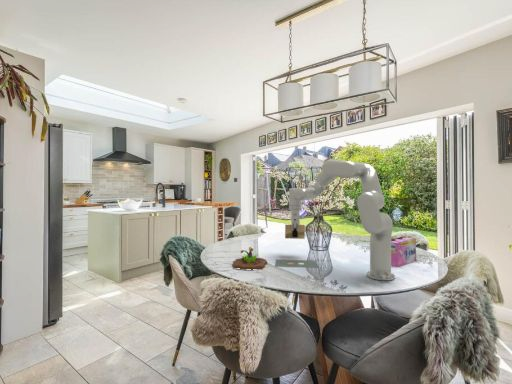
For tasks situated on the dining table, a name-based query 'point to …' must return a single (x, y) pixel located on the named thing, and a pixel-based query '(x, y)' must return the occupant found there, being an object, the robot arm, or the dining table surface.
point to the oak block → (299, 228)
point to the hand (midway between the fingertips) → (294, 235)
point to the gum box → (402, 251)
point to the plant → (249, 261)
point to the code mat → (296, 263)
